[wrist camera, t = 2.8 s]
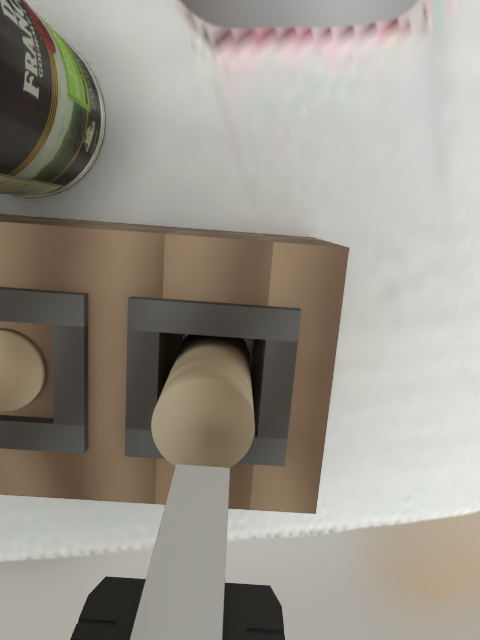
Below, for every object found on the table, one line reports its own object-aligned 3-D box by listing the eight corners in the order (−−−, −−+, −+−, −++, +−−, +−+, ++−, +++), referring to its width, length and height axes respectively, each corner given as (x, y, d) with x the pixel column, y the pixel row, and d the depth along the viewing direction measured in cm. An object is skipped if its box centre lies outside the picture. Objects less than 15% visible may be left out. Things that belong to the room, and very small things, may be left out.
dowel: (178, 387, 27) (149, 470, 18) (181, 321, 26) (152, 375, 17) (246, 391, 27) (250, 477, 18) (251, 326, 26) (259, 382, 17)
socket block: (-6, 408, 33) (-115, 495, 23) (-15, 213, 30) (-146, 211, 20) (292, 428, 34) (317, 521, 24) (313, 237, 31) (352, 248, 20)
